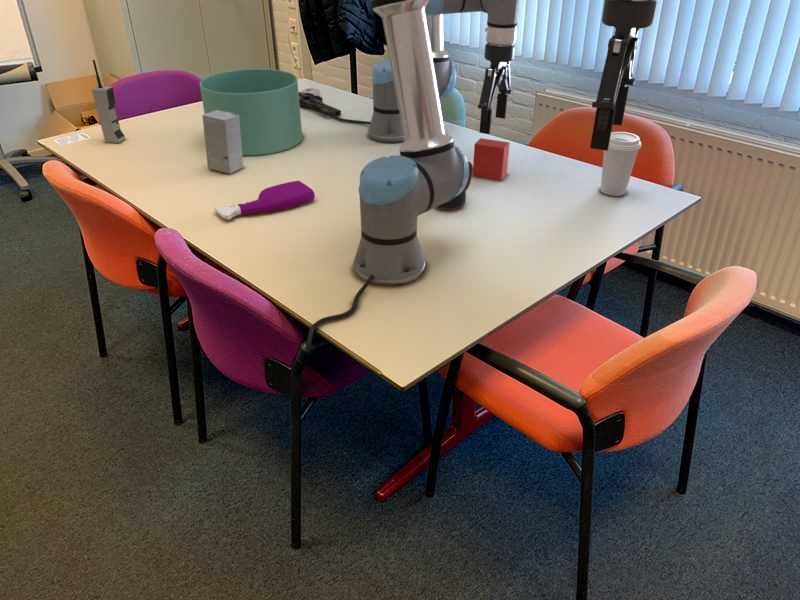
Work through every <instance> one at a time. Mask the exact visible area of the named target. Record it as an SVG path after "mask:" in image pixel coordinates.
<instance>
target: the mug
mask: <svg viewBox="0 0 800 600" xmlns="http://www.w3.org/2000/svg"><path fill="white" fill-rule="evenodd" d="M467 162H468V166H469V178H468V182H467V184H466V187H465V188H464V189H463V191H462V192H461V193H460V194H459V195H457V196H456V197H454V198H453V199H452V200H451V201H449V202H447V203H444V204H441V205H439V206H437V207H436V208H437V209H439V210H442V211H456V210H460V209H462V208H463V207H464V205H465V204H466V202H467V190H468V189H469V187H470V185H471V181H472V178H473V162H471V161H468V160H467Z"/></svg>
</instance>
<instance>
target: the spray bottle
mask: <svg viewBox="0 0 800 600" xmlns="http://www.w3.org/2000/svg"><path fill="white" fill-rule="evenodd" d="M315 197H316V196H315V192H314V190H313V189H312V188H311V187H309V186H308V185H307V184H306V183H304V182H302V181H300V180H294V181H293V180H292V181H288V182H284V183H280V184H276V185H273V186H269V187H265V188H264V189H262V190H261V191H260V193H258V197H257V199H255V200H252V201H247V202H245V203H238V204H237V205H236V206H234V205H235V204H234V202H233V203H231V204H229V205H226V206H221V205H220V206H218V205H214V206H213V209H214V211H215V212H216V213H217V215H219V216H220V217H221V218H222V219H225V220H227V221H230V220H232V218H233V217H237V216H239V215H248V214H249V215H250V214H260V213H274V212H280V211H285V210H288V209H291V208H294V207H299V206H302V205H306V204H308V203H310V202H313V201H314V200H315V199H316V198H315Z"/></svg>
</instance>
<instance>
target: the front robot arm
mask: <svg viewBox="0 0 800 600" xmlns="http://www.w3.org/2000/svg"><path fill="white" fill-rule="evenodd" d="M370 2H371V10H372V11H373V12H374V13H376V14H377V15H378V16H379V17H380V18H381V21H382V26H383V32H384V36H385V41H386V47H387V52H388V59H390V63H391V69H392V74H393V80H394V85H395V90H396V96H397V101H398V106H399V112H400V117H401V122H402V128H403V133H404V138H405V139H404V141H403V142H401V145H400V146H399V149H398V151H399V155H389V156H387V157H386V156H381V157H378V158H376V159H373V160H371V161H369V162H368V163H367V164H366V165H365V166H363V168H362V170H361V171H360V174H359V184H358V185H359V186H358V195H359V210H360V211H359V212H360V239H359V242H358V247H357V249H356V252H355V256H354V259H353V270H354V273H355V275H356V276H357V277H358V278H359V279H360V280H362V281H364V283H363V285H362V286H361V287H360V289H359V290H358V291H357V293H356V294H355V296H354V297H353V301H352V304H351V307H350V308H349V309H348V310H347V311H345V312H342V313H339V314H334V315H329V316H325V317H322V318H320V319H318V320H317V321H316V322H314V323H313V324H312V325H311V326H310V327H309V330H308V334H307V338H306V339H307V340H306V343H305V347H304V350H305V351H308V350H310V349H311V345H312V341H313V337H314V332H315V330H316V329H317V328H318V327H319V326H320V325H322V324H324V323H327V322H331V321H335V320H341V319H345V318H346V317H348V316H351V315H352V314H353V313H354V312H355V310H356V309H357V306H358V302H359V299H360V298H361V296H362V295H363V293H364V292H365V291H366V289H368V287H369V286H370V285H371V284H372V285H376V286H382V287H395V286H402V285H406V284H410V283H413V282H415V281H417V280H418V279H420V278H421V276H423V274H424V273H425V270H426V261H425V255H424V252H423V250H422V247H421V244H420V241H419V238H418V217H419V216H421V215H423V214H426V213H427V212H429V211H431V210H433V209H435V208H437V206H439V205H441V204H444V203H447V202H449V201H451V200H452V199H453V198H454V197H456V196H457V195H459V194H460V193H461V192H462V191H463V189H464V188H465V187H466V184H467V182H468V178H469V166H468V162H467V161H468V159H467V157H466V154H464V153H462V150H461V148H460V147H458V146H457V145H455V141H454V137H452V135H450V134H449V133H447V132H446V130H445V124H444V119H443V112H442V106H441V100H440V99H441V98H439V93H438V87H437V81H436V75H435V68H434V62H433V56H432V50H431V44H430V37H429V31H428V25H427V19H426V13H425V8H426V5H427V4H428V2H429V0H370ZM657 6H658V1H657V0H604V3H603V10H602V16H601V22H602V24H603V25H604V26H606V27H613V28H615V31H614V35H612V36H611V37H610V38H609V40H608V43H607V53H606V57H605V61H604V65H603V70H602V74H601V79H600V83H599V87H598V92H597V96H596V100H595V101H592V104H591V108H593V109H596V110H595V115H594V122H593V128H592V132H591V133H592V134H591V138H590V139H591V140H590V145H589V146H590V147H589V149H592V150H593V149H594V150H600V151H604V150H606V151H607V150H608V147H609V142H610V136H611V133H612V132H613V131H612V130H613V126H622V125H623V121H624V116H625V111H626V105H627V101H628V95H629V89H630V86H632V87H633V86H634V85H635V81H636V79H635V78H633V75H634V65H635V58H636V54H637V48H638V44H639V31H640V30H641V29H646V28H650V27H651V26H652V25H653V24H654V22H655V21H654V20H655V16H656V11H657Z"/></svg>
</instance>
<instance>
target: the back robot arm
mask: <svg viewBox="0 0 800 600" xmlns="http://www.w3.org/2000/svg"><path fill="white" fill-rule="evenodd" d="M520 5H521V0H429V2H428V4H427V5H426V8H425V13H426V19H427V25H428V31H429V37H430V44H431V50H432V56H433V62H434V68H435V75H436V81H437V87H438V93H439V99H442V98H447V97H448V96H450V95H451V94H452V92H453V91H454V89H455V86H456V82H457V68H456V64H455V62H454V61H453V59H451V58H450V53H448V51H447V50H446V49H445V15H450V14H465V13H477V12H481V13H482V12H483V13H485V14H487V20H486V27H485V28H484V32H485V41H486V44H485V45H484V60H486V61H489V62H490V66H489V67H485V70H484V79H483V84H482V89H481V93H480V98H479V103H478V104H477V109H480V119H479V120H480V121H479V132H478V133H479V134H485V135H490V134H491V128H492V127H491V126H492V116H493V108H492V105H493V103H494V99H495V95H496V92H497V90H498V93H497V97H496V107H495V118H497V119H504V120H505V119H507V118H506V116H507V108H508V97H509V95H512V78H511V62H512V61H513V60H514V59H515V52H516V51H515V49H516V45H515V43H517V42H516V41H517V31H518V20H519V14H520V13H519V12H520ZM371 82H372V100H373V101H372V109H373V110H372V111H373V112H372V117H371V118H370V119H371V120H370V121H366V120H359V119H348V118H342V117H340V116H335V115H332V116H331V117H332V118H333V119H335V120H336V121H339V122H344V123H352V124H360V125H367V126H368V125H369V126H368V129H367V132H368V133H367V134H368V137H369V138H370V139H372V140H373V141H376V142H381V143H403V142H404V139H405V138H404V133H403V128H402V122H401V117H400V112H399V106H398V101H397V96H396V90H395V85H394V80H393V74H392V69H391V63H390V58H386V59H383V60H381V61H379V62H377V63H376V64H375V65H374V66H373V68H372V79H371ZM497 88H498V89H497Z"/></svg>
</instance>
